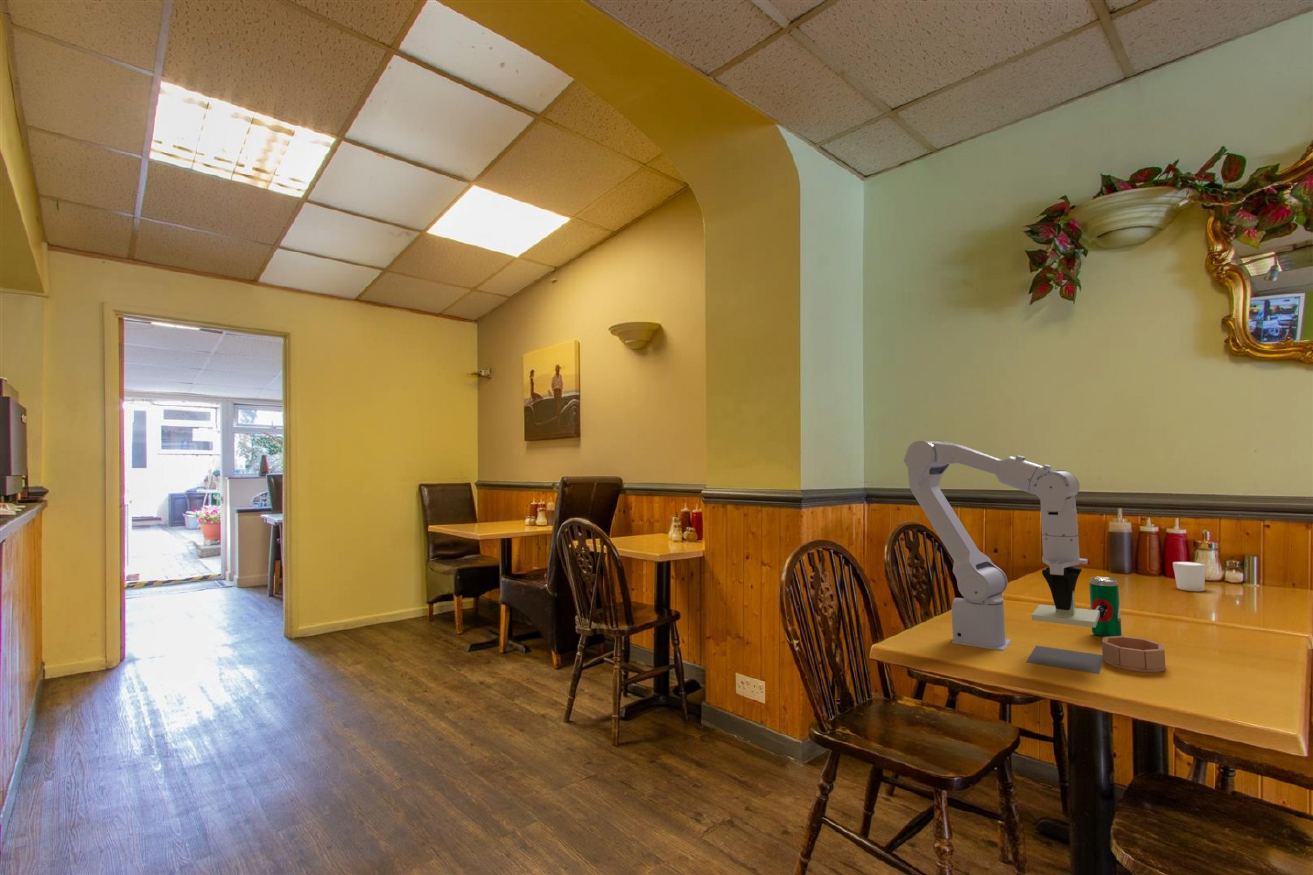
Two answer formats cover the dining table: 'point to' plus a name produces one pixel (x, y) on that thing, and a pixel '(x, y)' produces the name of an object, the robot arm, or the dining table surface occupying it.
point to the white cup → (1189, 575)
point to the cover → (1067, 615)
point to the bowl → (1134, 653)
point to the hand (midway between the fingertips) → (1064, 607)
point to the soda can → (1106, 606)
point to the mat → (1066, 659)
